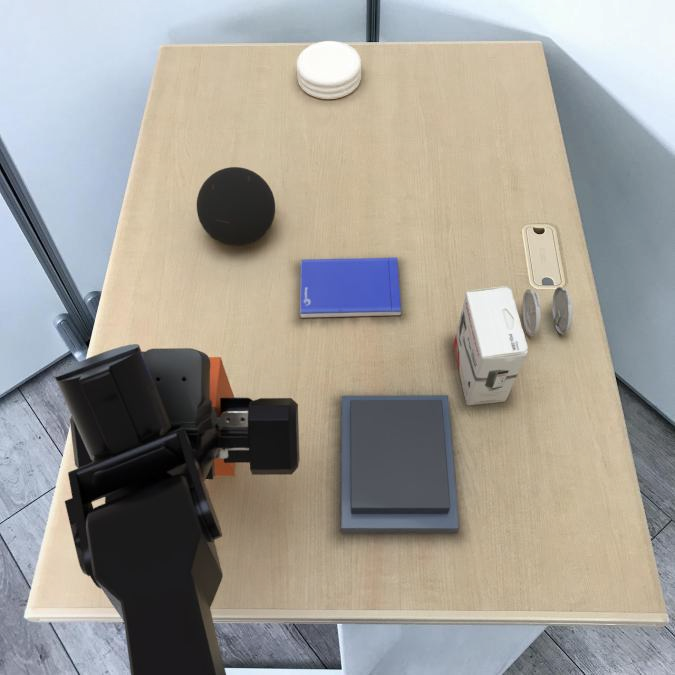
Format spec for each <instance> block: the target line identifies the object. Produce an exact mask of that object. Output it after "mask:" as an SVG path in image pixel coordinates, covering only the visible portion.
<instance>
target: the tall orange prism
mask: <svg viewBox="0 0 675 675" xmlns="http://www.w3.org/2000/svg"><path fill="white" fill-rule="evenodd" d="M208 357H209V359H210V397H209V399H210V400H211V401H212V407H217V417H218V418H220V416H221V405H220V398H235V394H234V392H233V389H232V386H231V383H230V380H229V378H228V375H227V372H226V368H225V365H224V362H223V361H222V357H221V356H208ZM217 430H219V428H218V429H217ZM219 449H220V448H219ZM214 464H215V476H214V477H235V476H236V464H237V463H224V458H217V459H215V460H214Z"/></svg>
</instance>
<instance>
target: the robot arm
mask: <svg viewBox="0 0 675 675" xmlns="http://www.w3.org/2000/svg"><path fill="white" fill-rule="evenodd" d="M209 357H210V356H209V355H208V354H207V353H205V352H203V351H200V350H198V349H195V348H191V347H186V348H185V347H183V348H181V347H180V348H179V347H178V348H176V347H175V348H172V347H171V348H149V349H147V350H146V351H142V349H141V346H140V344H138V343H132V344H126V345H122V346H119V347H116V348H112V349H109V350H105V351H103V352H100V353H98V354H95V355H92V356H90V357H87V358H85V359H83V360H80V361H78V362H76V363H74V364H72V365H70V366H68V367H66V368H64V369H63V370H61V371H59V372H58V373H57V374H56V375H55V376H54V380H55V381H56V384H57V386H58V388H59V390H60V392H61V395H62V397H63V400H64V402H65V403H66V407H67V409H68V411H69V414H70V419H69V425H70V434H71V441H72V442H71V443H72V451H73V459H74V466H75V467H76V468H75V469H73V470H70V471H68V472H67V476H68V481H69V487H70V492H71V498H69V499H66V500H64V505H65V509H66V514H67V517H68V523H69V526H70V530H71V531H70V532H71V534H72V540H73V544H74V548H75V552H76V556H77V557H76V558H77V561H78V565H79V567H80V570H81V572H82V573H83V575H86V576H87V577H90V578H91V580H92V582H93V583H94V585H95V586H96V587H97V588H98V589H100V590H102V592H103V593H104V595H105V596H106V597H107V599H108V600H109V602H110V603H111V605H112V606H113V608H114V610H115V611H116V612H117V613H118V615H119V617H120V618H121V620H122V621H123V625H124V632H125V639H126V647H127V655H128V663H129V670H130V675H227V671H226V667H225V663H224V660H223V656H222V652H221V647H220V644H219V640H218V636H217V633H216V629H215V624H214V620H213V619H214V618H213V615H212V610H211V607H212V605H213V602H214V600H215V598H216V595H217V593H218V590H219V589H220V585H221V583H222V580H223V576H224V574H223V569H222V565H221V561H220V558H219V555H218V550H217V546H216V542H215V540H218V539H219V538H222V537H223V532H222V528H221V527H222V526H221V524H220V521H219V518H218V515H217V513H216V510H215V507H214V504H213V502H212V498H211V496H210V493H209V490H208V487H207V484H206V482H205V481H206V480H207V481H208V480H209V481H210V480H214V478H215V477H216V476H215V464H214V460H215V459H217V458H224V463H236V464H238V463H239V464H249V470H250V474H251V475H252V476H271V475H272V476H274V475H275V476H277V475H279V476H281V475H282V476H283V475H284V476H285V475H286V476H287V475H288V476H291V475H293V474H294V473H295V472H296V471H297V469H299V466H300V460H301V458H300V431H299V430H300V427H299V426H300V425H299V403H297V402H296V400H294V399H293V398H292V397H261V398H257V399H254V400H253V399H251V398H250V397H234V398H220V405H221V416H220V418H218V417H217V407H212V401H211V400H210V399H209V397H210V359H209ZM218 428H219V430H217V429H218ZM219 448H220V449H219ZM103 498H104V503H103V504H100V505H97V506H95V507H94V505H93V502H95V501H98V500H100V499H103Z"/></svg>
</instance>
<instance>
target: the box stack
mask: <svg viewBox="0 0 675 675" xmlns="http://www.w3.org/2000/svg"><path fill="white" fill-rule="evenodd" d="M451 426H452V425H451V415H450V403H449V395H448V394H447V395H445V394H443V395H442V394H439V395H438V394H437V395H435V394H434V395H433V394H429V395H428V394H427V395H424V394H423V395H422V394H421V395H417V394H416V395H415V394H414V395H410V394H409V395H406V394H405V395H401V394H400V395H341V448H340V449H341V450H340V451H341V455H340V457H341V460H340V462H341V463H340V464H341V465H340V466H341V468H340V469H341V471H340V472H341V474H340V475H341V476H340V479H341V480H340V482H341V484H340V486H341V487H340V488H341V491H340V529H341V530H340V532H341V534H457V533H458V531H459V529H460V524H459V513H458V512H459V511H458V499H457V487H456V476H455V474H456V473H455V463H454V462H455V461H454V452H453V451H454V450H453V439H452V429H451Z"/></svg>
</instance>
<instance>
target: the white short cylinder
mask: <svg viewBox="0 0 675 675" xmlns="http://www.w3.org/2000/svg"><path fill="white" fill-rule="evenodd" d="M295 67H296V75H297V76H296V77H297V82H298V85H299V87H300V88H301V90H302V91H303V92H304V93H306V94H308V95H309V96H311V97H314V98H317V99H322V100H334V99H335V100H336V99H340V98H344V97H347V96H349V95H350V94H352V93H353V92H354V91H355V90H356V89H357V88H358V86H359V85H360V83H361V81H362V59H361V56H360V54H359V52H358V51H357V49H355V48H354V47H352V46H350V45H349V44H347V43H344V42H341V41H337V40H325V41H324V40H323V41H319V42H315V43H312V44H311V45H309V46H307V47H306V48H304V49H303V50H302V51H301V52H300V53H299V55H298V56H297V59H296V66H295Z"/></svg>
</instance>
